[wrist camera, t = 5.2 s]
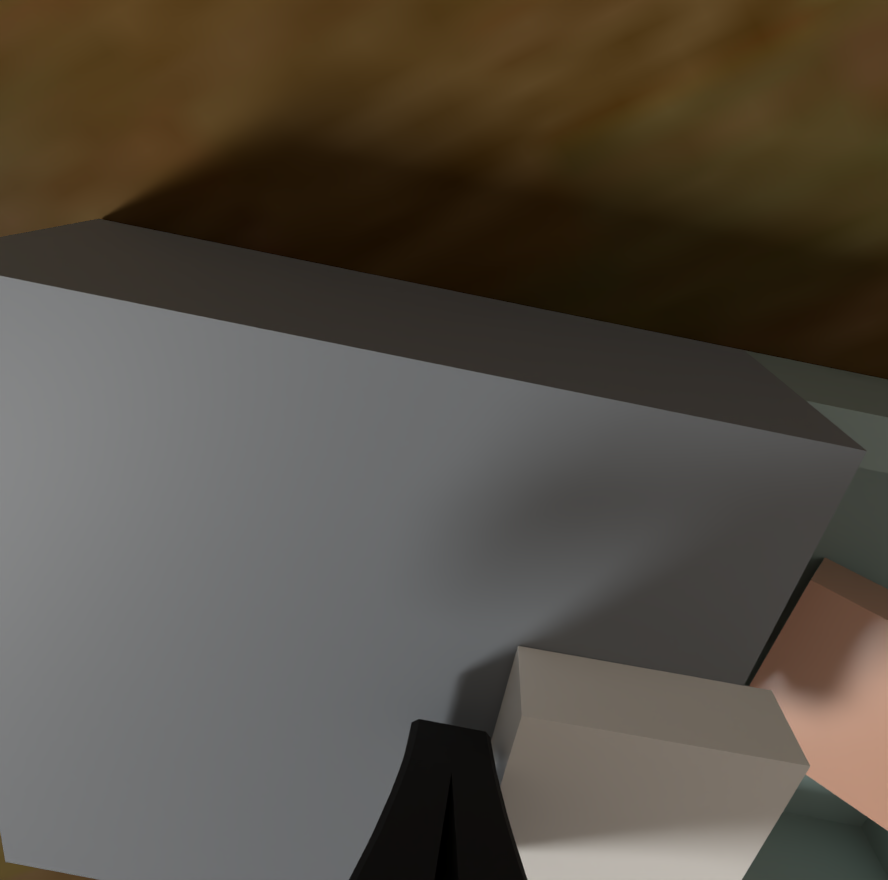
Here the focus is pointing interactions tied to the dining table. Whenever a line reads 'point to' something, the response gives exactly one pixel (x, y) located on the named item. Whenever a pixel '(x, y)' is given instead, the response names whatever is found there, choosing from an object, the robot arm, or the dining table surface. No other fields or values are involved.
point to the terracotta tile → (837, 685)
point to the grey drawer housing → (342, 536)
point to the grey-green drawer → (844, 542)
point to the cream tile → (639, 770)
